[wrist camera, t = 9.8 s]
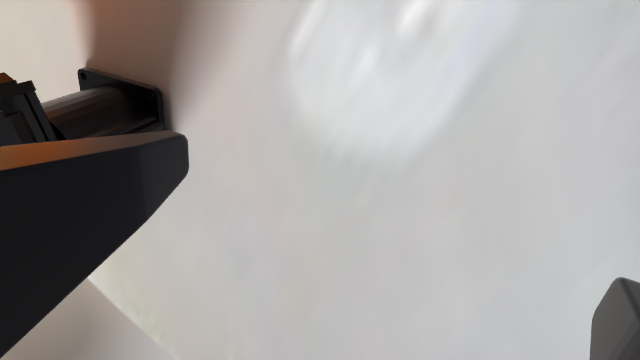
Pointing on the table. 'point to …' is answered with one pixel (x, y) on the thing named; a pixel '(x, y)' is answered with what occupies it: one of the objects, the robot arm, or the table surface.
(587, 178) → the table surface
